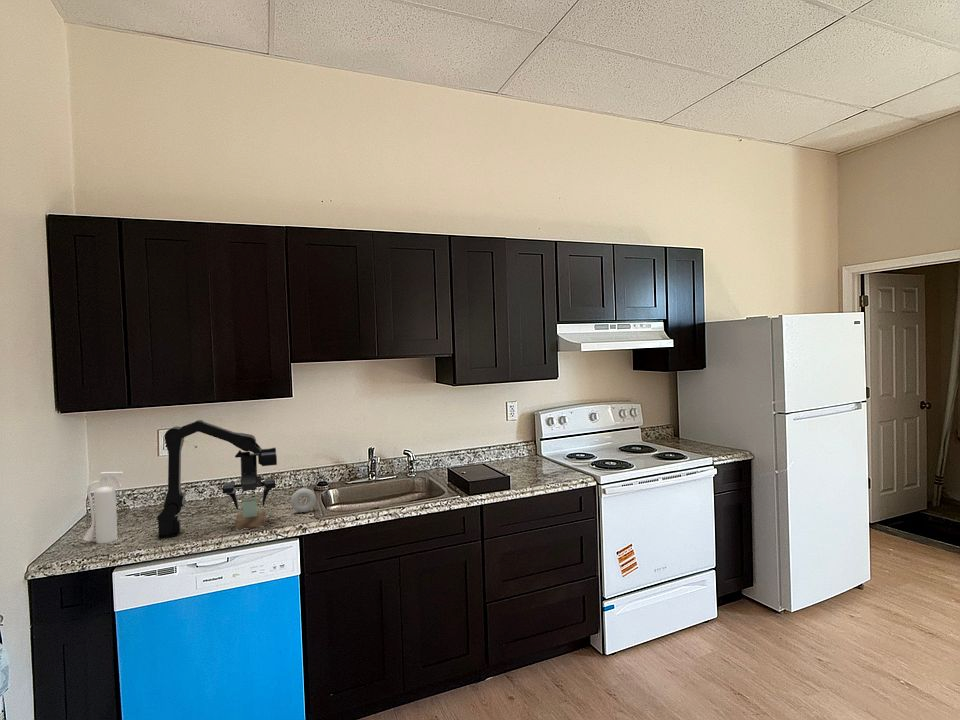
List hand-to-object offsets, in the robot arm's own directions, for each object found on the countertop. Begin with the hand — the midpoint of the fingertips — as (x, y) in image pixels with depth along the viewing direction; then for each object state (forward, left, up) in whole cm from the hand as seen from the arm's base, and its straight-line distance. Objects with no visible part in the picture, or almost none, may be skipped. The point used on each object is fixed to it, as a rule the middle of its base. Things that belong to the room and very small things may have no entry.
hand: (250, 507), depth 209 cm
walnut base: (0, 0, -7) cm, 7 cm away
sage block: (0, 0, -3) cm, 3 cm away
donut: (+20, +7, -7) cm, 22 cm away
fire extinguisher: (-49, +5, -7) cm, 50 cm away
